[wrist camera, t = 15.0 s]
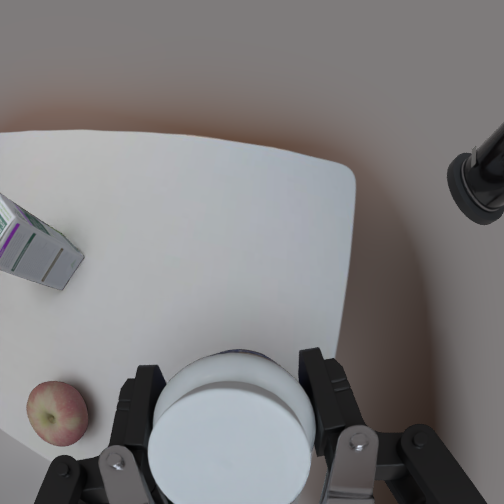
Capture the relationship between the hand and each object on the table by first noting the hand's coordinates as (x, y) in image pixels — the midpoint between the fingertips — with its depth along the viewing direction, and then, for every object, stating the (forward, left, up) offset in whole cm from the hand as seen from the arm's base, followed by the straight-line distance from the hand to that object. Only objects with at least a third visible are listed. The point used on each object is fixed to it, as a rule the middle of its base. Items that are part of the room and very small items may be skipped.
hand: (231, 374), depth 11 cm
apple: (+22, +7, -22) cm, 32 cm away
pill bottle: (0, +2, -5) cm, 5 cm away
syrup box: (+23, -12, -22) cm, 34 cm away
